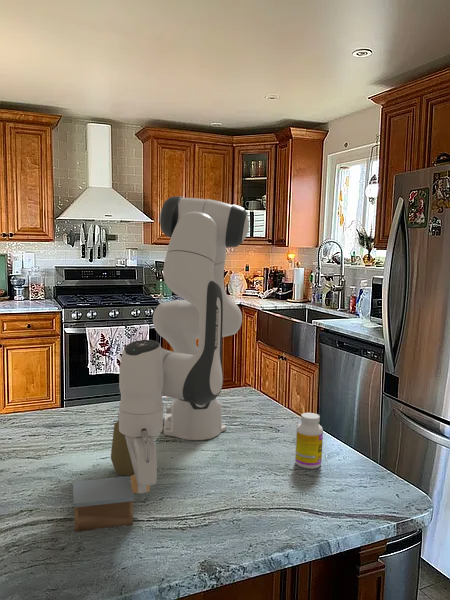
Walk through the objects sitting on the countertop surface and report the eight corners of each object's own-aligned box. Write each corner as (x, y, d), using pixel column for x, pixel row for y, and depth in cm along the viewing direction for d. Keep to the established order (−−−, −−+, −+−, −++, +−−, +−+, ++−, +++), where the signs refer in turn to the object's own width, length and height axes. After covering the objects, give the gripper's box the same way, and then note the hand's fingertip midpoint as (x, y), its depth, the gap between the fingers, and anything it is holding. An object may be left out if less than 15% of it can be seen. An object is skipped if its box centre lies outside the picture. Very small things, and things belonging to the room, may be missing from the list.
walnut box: (74, 508, 109) (74, 485, 108) (128, 502, 112) (128, 480, 111) (74, 531, 100) (74, 506, 100) (132, 524, 103) (133, 500, 103)
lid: (73, 488, 109) (73, 474, 108) (145, 481, 113) (145, 467, 112) (73, 511, 100) (73, 495, 99) (151, 502, 104) (152, 487, 103)
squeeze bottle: (150, 467, 130) (151, 396, 128) (134, 480, 122) (134, 405, 120) (121, 461, 132) (121, 392, 130) (103, 474, 125) (104, 401, 123)
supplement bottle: (320, 471, 130) (323, 421, 129) (294, 468, 132) (296, 418, 130) (321, 460, 137) (324, 412, 135) (295, 457, 138) (298, 410, 137)
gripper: (165, 439, 97) (164, 509, 99) (149, 405, 117) (148, 464, 118) (131, 441, 95) (130, 513, 97) (120, 406, 115) (120, 467, 116)
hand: (140, 486), depth 108 cm, fingers closed on lid, 3 cm apart
